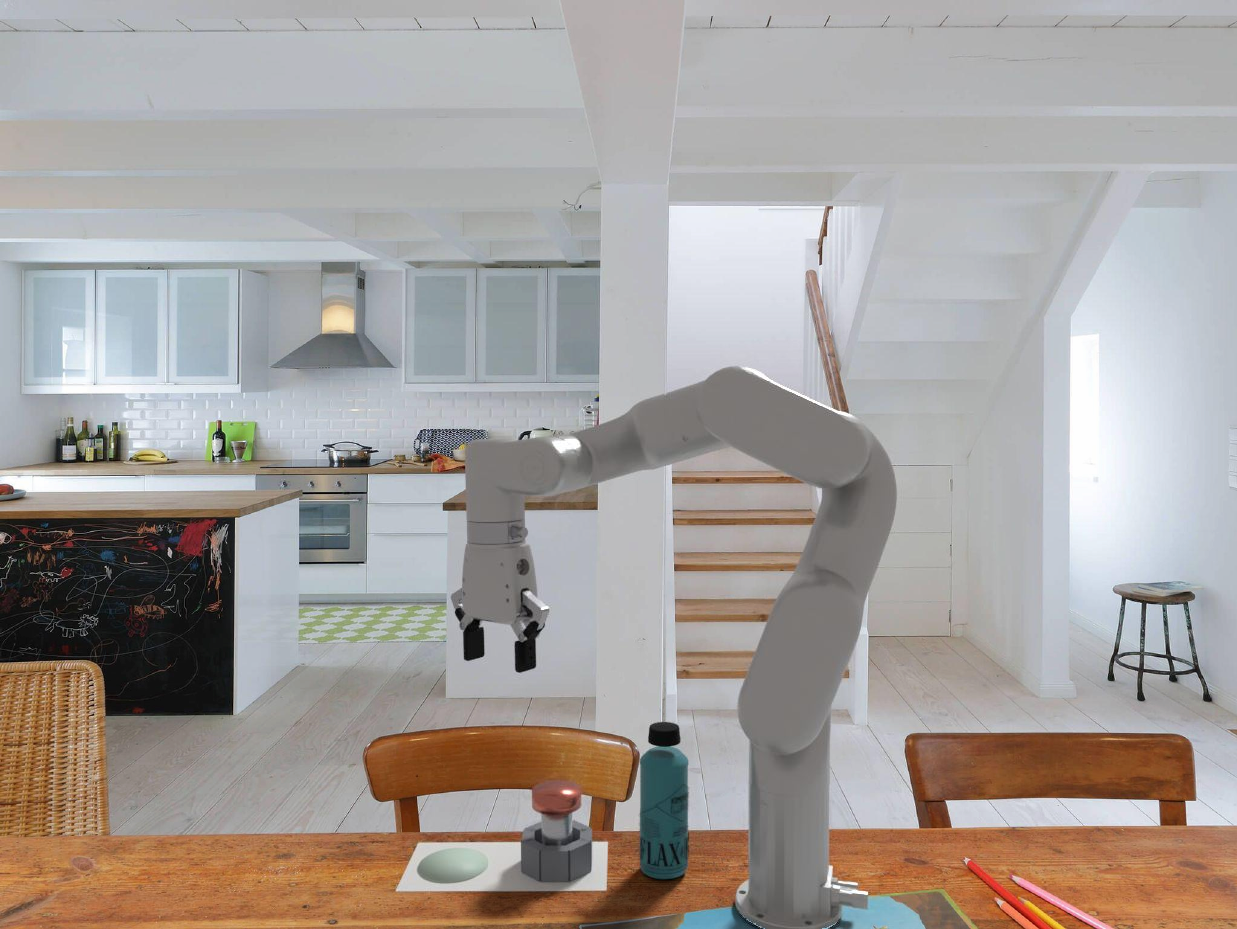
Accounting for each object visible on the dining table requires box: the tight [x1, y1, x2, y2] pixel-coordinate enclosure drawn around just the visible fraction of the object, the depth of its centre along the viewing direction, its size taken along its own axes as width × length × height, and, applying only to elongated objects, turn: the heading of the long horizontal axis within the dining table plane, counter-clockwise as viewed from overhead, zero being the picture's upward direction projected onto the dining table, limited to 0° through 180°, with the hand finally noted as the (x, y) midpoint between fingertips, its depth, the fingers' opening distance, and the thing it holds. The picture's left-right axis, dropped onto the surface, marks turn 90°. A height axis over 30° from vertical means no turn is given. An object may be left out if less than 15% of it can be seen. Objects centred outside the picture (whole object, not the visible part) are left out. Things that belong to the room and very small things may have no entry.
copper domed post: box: [531, 779, 582, 846], centre depth 119 cm, size 6×6×10 cm
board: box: [395, 819, 609, 893], centre depth 119 cm, size 26×13×5 cm, turn 90°
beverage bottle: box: [638, 721, 690, 880], centre depth 117 cm, size 6×7×20 cm
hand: (499, 664), depth 120 cm, fingers open, 9 cm apart
